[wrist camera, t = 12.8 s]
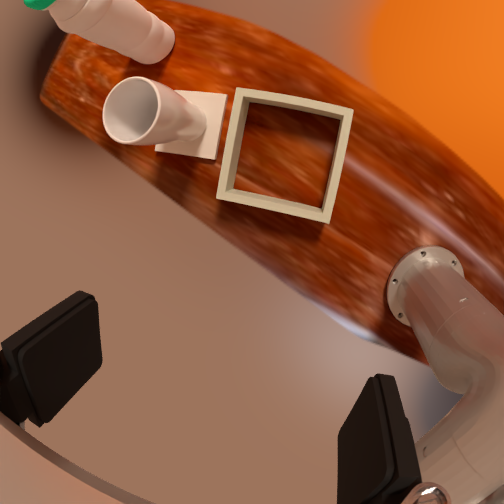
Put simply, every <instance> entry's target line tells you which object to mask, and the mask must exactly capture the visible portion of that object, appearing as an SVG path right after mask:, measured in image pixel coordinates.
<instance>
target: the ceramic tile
mask: <svg viewBox="0 0 504 504" xmlns="http://www.w3.org/2000/svg"><path fill="white" fill-rule="evenodd" d="M174 91H175V92H177V93H178V94H180V95H181V96H183V97H184V98H186V99H187V100H189V101H190V102H192V103H193V104H196V105H198V106H199V107H201V108H202V109H203V111H204V112H205V115H206V119H207V124H206V128H205V130H204V132H203V133H202V135H201V136H200V137H199V138H197V139H195V140H193V141H190V142H172V143H164V144H156V147H155V151H160V152H168V153H175V154H182V155H188V156H195V157H201V158H208V159H214V160H216V158H217V152H218V147H219V141H220V136H221V130H222V125H223V120H224V115H225V110H226V105H227V100H228V95H227V94H218V93H208V92H196V91H182V90H174Z"/></svg>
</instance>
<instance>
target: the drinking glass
mask: <svg viewBox="0 0 504 504" xmlns="http://www.w3.org/2000/svg"><path fill="white" fill-rule="evenodd" d="M103 124H104V127H105V130H106V132H107V133H108V135H109V136H110V137H111V138H112V139H113V140H115V141H116V142H118V143H121V144H129V145H156V144H164V143H172V142H190V141H193V140H195V139H197V138H199V137H200V136H201V135H202V133H203V132H204V130H205V128H206V124H207V119H206V115H205V112H204V111H203V109H202V108H201V107H199V106H198V105H196V104H193V103H192V102H190V101H189V100H187V99H186V98H184V97H183V96H181V95H180V94H178V93H177V92H175V91H174V90H172V89H171V88H169V87H167V86H165V85H163V84H161V83H159V82H157V81H154V80H151V79H147V78H144V77H138V76H137V77H130V78H127V79H125V80H123V81H121V82H120V83H118V84H117V85H116V86H115V87H114V88H113V89H112V90H111V92H110V93H109V95H108V97H107V99H106V101H105V104H104V107H103Z"/></svg>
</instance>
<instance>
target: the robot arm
mask: <svg viewBox="0 0 504 504" xmlns="http://www.w3.org/2000/svg"><path fill="white" fill-rule="evenodd" d="M422 251H423V252H422ZM421 252H422V254H420V253H421ZM452 261H453V262H452ZM394 279H395V280H394ZM393 280H394V281H393ZM386 296H387V302H388V305H389V307H390V310H391V312H392V313H393V315H394V316H395V318H396V319H397V320H399V321H400V322H401V323H403V324H405V325H407V326H410V327H412V329H413V331H414V333H415V335H416V337H417V339H418V341H419V343H420V345H421V347H422V349H423V352H424V354H425V356H426V358H427V360H428V362H429V364H430V366H431V369H432V371H433V373H434V375H435V376H436V378H437V380H438V381H439V382H440V383H441V384H442V385H443V386H444V387H445V388H447V389H449V390H450V391H453V392H456V393H459V394H464V396H463V397H462V398H461V400H459V402H458V403H457V404H456V405H455V406H454V407H453V408H452V409H451V411H450V412H449V413H448V414H447V415H446V416H445V417H444V418H443V419H441V420H440V421H439V422H438V423H437V424H436V425H435V426H434V427H433V428H432V429H431V430H430V431H428V432H427V433H426V434H425V435H424V436H423V437H422V438H421V439H420V440H419V441H417V442H416V443H415V444H414V440H413V436H412V432H411V428H410V424H409V421H408V419H407V418H406V417H405V414H404V410H403V406H402V402H401V399H400V395H399V391H398V388H397V384H396V381H395V378H394V376H391V375H384V374H376V375H375V376H374V377H370V378H369V379H368V381H367V382H366V384H365V386H364V388H363V390H362V392H361V394H360V396H359V398H358V399H357V401H356V403H355V405H354V406H353V408H352V410H351V412H350V414H349V415H348V417H347V419H346V421H345V422H344V424H343V426H342V427H341V429H340V431H339V434H338V486H337V487H338V488H337V504H504V316H503V315H502V314H501V313H500V312H499V311H498V310H497V309H496V308H495V307H494V306H493V305H492V304H491V303H490V302H489V301H488V300H487V299H486V298H485V297H484V296H483V295H482V294H481V293H480V292H479V291H477V290H476V289H475V288H474V287H473V286H472V285H471V284H470V283H469V282H468V281H467V280H466V279H465V278H464V272H463V269H462V266H461V264H460V262H459V260H458V259H457V258H456V256H455V255H454V254H453V253H451V252H450V251H449V250H447V249H445V248H443V247H440V246H435V245H427V246H421V247H419V248H416V249H414V250H412V251H410V252H409V253H407V254H406V255H405V256H404V257H402V258H401V259H400V260H399V262H398V263H397V264H396V265H395V267H394V269H393V270H392V272H391V274H390V277H389V279H388V283H387V292H386ZM399 313H400V314H399ZM1 346H2V350H1V351H0V504H155V503H152V502H150V501H148V500H145V499H143V498H140V497H138V496H136V495H133V494H131V493H129V492H127V491H124V490H123V489H120V488H118V487H116V486H114V485H112V484H110V483H108V482H106V481H104V480H102V479H100V478H98V477H97V476H95V475H93V474H91V473H89V472H87V471H86V470H84V469H82V468H80V467H79V466H77V465H75V464H74V463H72V462H70V461H69V460H67V459H65V458H64V457H62V456H60V455H59V454H58V453H56V452H54V451H53V450H51V449H50V448H48V447H47V446H45V445H44V444H43V443H41V442H40V441H38V440H37V439H35V438H34V437H32V436H31V435H30V434H29V433H27V432H26V431H25V422H24V421H25V420H26V419H27V418H28V419H29V420H30V421H31V422H32V423H34V424H35V425H37V426H38V427H41V426H42V425H43V424H44V423H48V422H50V421H51V420H52V419H53V417H54V416H55V415H56V414H57V413H58V412H59V411H60V410H61V409H62V408H63V407H64V405H65V404H66V403H67V402H68V401H69V400H70V399H71V398H72V397H73V396H74V395H75V394H76V393H77V391H79V389H80V388H81V387H82V386H83V385H84V384H85V383H86V382H87V381H88V380H89V379H90V378H91V377H92V375H94V374H95V372H96V371H97V370H98V369H99V368H100V367H101V365H102V351H101V340H100V329H99V315H98V303H97V301H95V298H94V296H93V295H91V294H88V293H85V292H83V291H77V292H76V293H74V294H72V295H71V296H69V297H68V298H66V299H65V300H63V301H62V302H60V303H59V304H57V305H56V306H54V307H52V308H51V309H49V310H48V311H46V312H45V313H44V314H42V315H40V316H39V317H37V318H36V319H35V320H33V321H32V322H30V323H29V324H27V325H26V326H24V327H23V328H21V329H20V330H18V331H17V332H16V333H14V334H13V335H11V336H10V337H9V338H7V339H6V340H4V341H3V342H1Z"/></svg>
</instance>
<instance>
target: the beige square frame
mask: <svg viewBox="0 0 504 504" xmlns="http://www.w3.org/2000/svg"><path fill="white" fill-rule="evenodd" d="M249 102H253V103H260V104H266V105H272V106H278V107H284V108H289V109H294V110H299V111H304V112H309V113H314V114H318V115H323V116H327V117H331V118H335V119H340V126H339V131H338V136H337V141H336V146H335V151H334V155H333V160H332V165H331V170H330V174H329V179H328V183H327V188H326V192H325V196H324V201H323V205H322V209H321V208H317V207H313V206H309V205H305V204H300V203H296V202H292V201H287V200H283V199H278V198H274V197H269V196H265V195H260V194H255V193H251V192H246V191H241V190H236V189H233V186H234V181H235V175H236V170H237V164H238V159H239V154H240V148H241V143H242V138H243V132H244V127H245V122H246V117H247V112H248V107H249ZM353 111H354V110H353V109H349V108H345V107H341V106H337V105H333V104H328V103H324V102H320V101H315V100H310V99H305V98H300V97H295V96H290V95H284V94H278V93H272V92H266V91H259V90H252V89H244V88H236V93H235V98H234V103H233V108H232V113H231V118H230V123H229V128H228V134H227V139H226V144H225V150H224V155H223V161H222V166H221V172H220V178H219V184H218V190H217V196H216V199H221V200H226V201H231V202H236V203H240V204H245V205H250V206H254V207H259V208H264V209H268V210H272V211H277V212H281V213H286V214H290V215H294V216H299V217H303V218H307V219H311V220H316V221H320V222H324V223H328V224H329V222H330V218H331V214H332V210H333V205H334V201H335V197H336V193H337V188H338V184H339V180H340V175H341V170H342V166H343V161H344V156H345V152H346V147H347V142H348V137H349V132H350V127H351V121H352V116H353Z"/></svg>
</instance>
